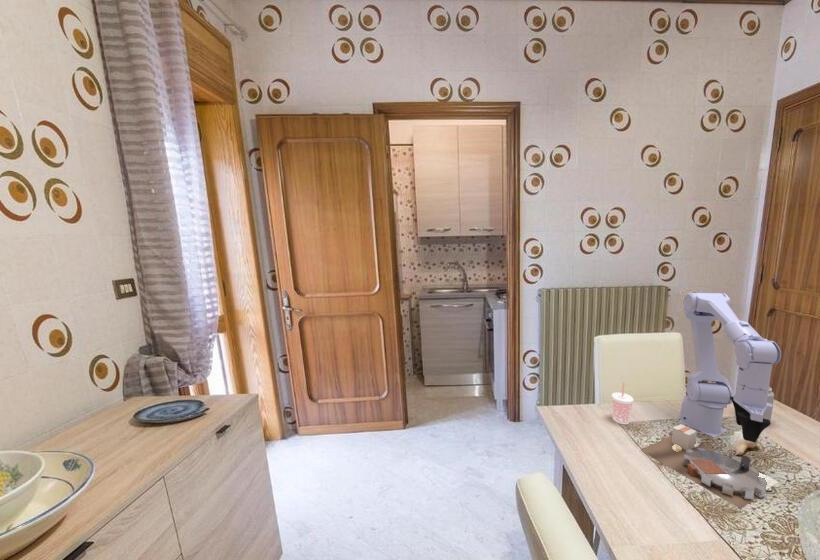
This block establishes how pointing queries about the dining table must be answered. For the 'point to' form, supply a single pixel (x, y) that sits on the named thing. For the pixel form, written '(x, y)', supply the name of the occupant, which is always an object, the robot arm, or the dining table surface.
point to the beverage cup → (622, 407)
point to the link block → (684, 437)
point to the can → (770, 400)
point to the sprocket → (725, 473)
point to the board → (675, 461)
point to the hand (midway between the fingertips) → (745, 432)
